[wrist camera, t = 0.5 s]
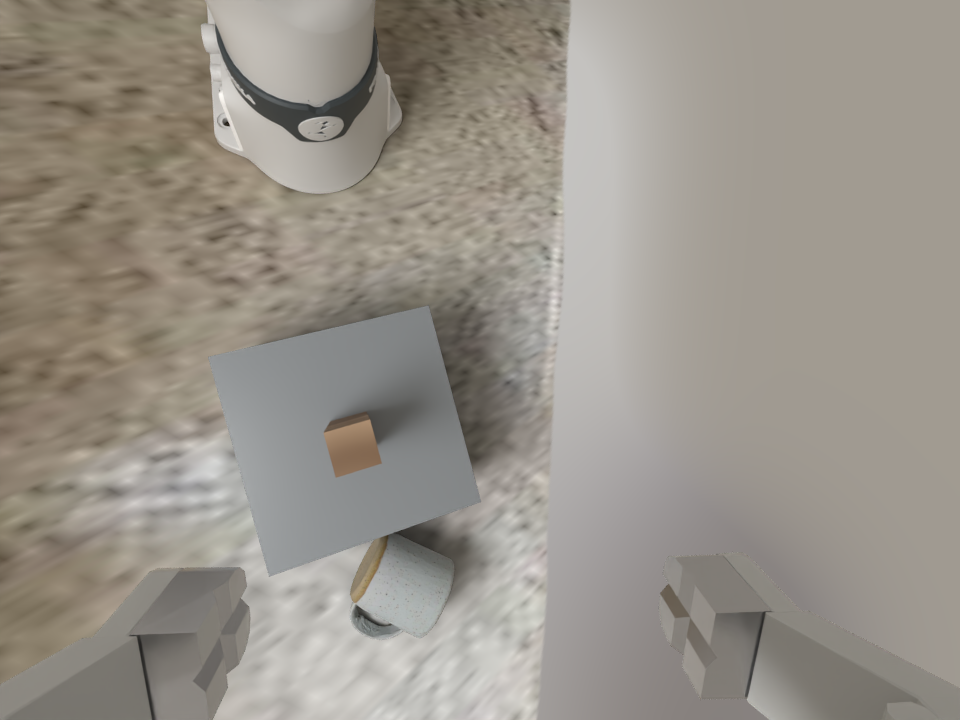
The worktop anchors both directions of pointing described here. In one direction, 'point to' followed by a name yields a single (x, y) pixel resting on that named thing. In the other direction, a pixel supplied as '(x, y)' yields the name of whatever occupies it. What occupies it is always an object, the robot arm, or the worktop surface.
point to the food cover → (344, 435)
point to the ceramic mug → (400, 588)
